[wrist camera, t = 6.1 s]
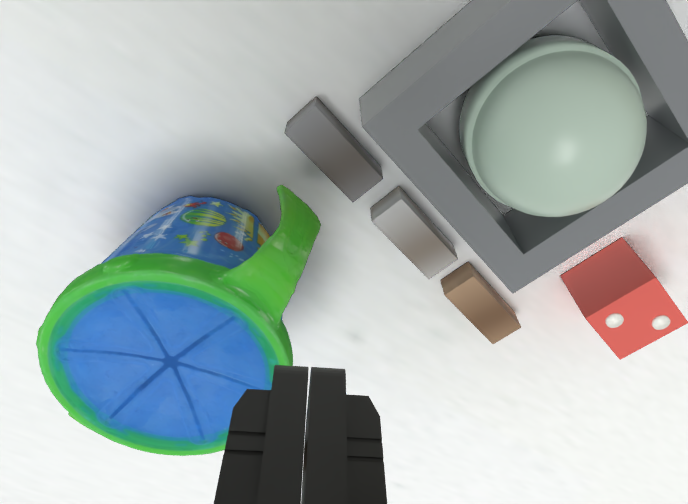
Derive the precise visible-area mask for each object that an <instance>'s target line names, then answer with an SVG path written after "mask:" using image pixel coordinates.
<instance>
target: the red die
mask: <svg viewBox="0 0 688 504" xmlns="http://www.w3.org/2000/svg"><path fill="white" fill-rule="evenodd" d="M561 278H562V280H563V282H564V283H565V285H566V287H567V288H568V290H569V292H570V293H571V295H572V297H573V298H574V300H575V302H576V304H577V305H578V307H579V309H580V310H581V312H582V314H583V315H584V317H585V319H586V320H587V321H588V322H589V323H590V325H591V326H592V327H593V328H594V329H595V331H596V332H597V333H598V334H599V335H600V336H601V338H602V339H603V340H604V341H605V342H606V344H607V345H608V346H609V347H610V348H611V350H612V351H613V352H614V353H615V354H616V356H617V357H618V358H619V359H622V358H624V357H626V356H628V355H630V354H631V353H633V352H635V351H637V350H639V349H641V348H643V347H644V346H646V345H648V344H650V343H652V342H654V341H656V340H657V339H659V338H661V337H663V336H665V335H667V334H669V333H670V332H672V331H674V330H676V329H678V328H680V327H681V326H683V325H685V324H687V323H688V321H687V320H686V319H685V317H684V316H683V314H682V313H681V312H680V310H679V309H678V307H677V306H676V305H675V303H674V302H673V301H672V299H671V298H670V296H669V295H668V294H667V292H666V291H665V289H664V288H663V287H662V285H661V284H660V282H659V281H658V280H657V278H656V277H655V276H654V274H653V273H652V272H651V271H650V270H649V269H648V267H647V266H646V265H645V264H644V263H643V261H642V260H641V259H640V258H639V257H638V256H637V254H636V253H635V252H634V251H633V250H632V248H631V247H630V246H629V245H628V244H627V242H626V241H625V240H624V239H623V238H620V239H618V240H617V241H615V242H614V243H612V244H610V245H609V246H607V247H606V248H604V249H602V250H601V251H599V252H598V253H596V254H594V255H593V256H591V257H589V258H588V259H586V260H585V261H583V262H581V263H580V264H578V265H577V266H575V267H573V268H572V269H570V270H569V271H567V272H565V273H564V274H562V275H561Z"/></svg>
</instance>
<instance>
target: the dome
mask: <svg viewBox="0 0 688 504" xmlns="http://www.w3.org/2000/svg"><path fill="white" fill-rule="evenodd" d="M646 133H647V119H646V112H645V108H644V104H643V101H642V96H641V92H640V89H639V86H638V84H637V82H636V80H635V78H634V76H633V75H632V74H631V72H630V71H629V69H628V68H627V67H626V66H625V65H624V64H623V63H622V62H621V61H619V60H618V59H616V58H615V57H614V56H612V55H610V54H609V53H607V52H605V51H603V50H602V49H600V48H598V47H596V46H594V45H593V44H591V43H589V42H586V41H584V40H582V39H578V38H575V37H570V36H562V35H550V36H543V37H537V38H534V39H530V40H528V41H527V42H525V43H524V44H523V45H522V46H520V47H519V48H518V49H517V50H515V51H514V52H513V53H512V54H511V55H509V56H508V57H507V58H506V59H504V60H503V61H502V62H501V63H499V64H498V65H497V66H496V67H494V68H493V69H492V70H491V71H489V72H488V73H487V74H486V75H485V76H483V77H482V78H481V79H480V80H478V81H477V82H476V83H475V84H473V85H472V86H471V88H470V90H469V91H468V93H467V95H466V98H465V101H464V103H463V106H462V110H461V114H460V122H459V137H460V143H461V147H462V150H463V153H464V156H465V158H466V160H467V162H468V164H469V166H470V168H471V170H472V172H473V174H474V176H475V178H476V180H477V181H478V183H479V184H480V186H481V187H482V188H483V189H484V190H485V191H486V192H487V193H488V194H489V195H490V196H491V197H493V198H494V199H495V200H497V201H499V202H500V203H502V204H504V205H507V206H509V207H512V208H514V209H516V210H519V211H521V212H524V213H526V214H530V215H535V216H543V217H563V216H569V215H574V214H578V213H581V212H584V211H587V210H589V209H591V208H594V207H596V206H598V205H599V204H601V203H603V202H605V201H606V200H607V199H609V198H610V197H611V196H613V195H614V194H615V193H616V192H617V191H618V190H620V188H621V187H622V186H623V185H624V184H625V183H626V182H627V180H628V179H629V178H630V176H631V175H632V173H633V172H634V170H635V168H636V167H637V165H638V163H639V161H640V158H641V156H642V153H643V150H644V146H645V141H646Z"/></svg>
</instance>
